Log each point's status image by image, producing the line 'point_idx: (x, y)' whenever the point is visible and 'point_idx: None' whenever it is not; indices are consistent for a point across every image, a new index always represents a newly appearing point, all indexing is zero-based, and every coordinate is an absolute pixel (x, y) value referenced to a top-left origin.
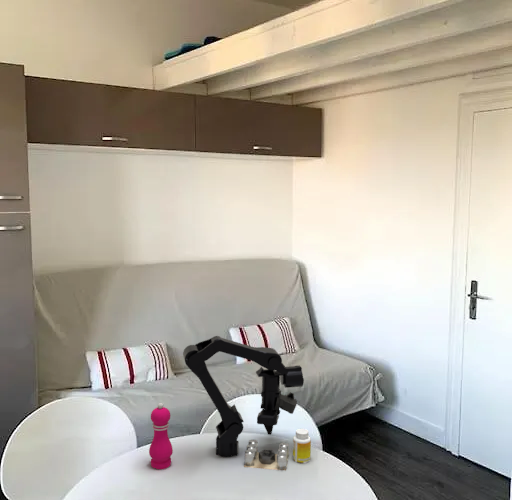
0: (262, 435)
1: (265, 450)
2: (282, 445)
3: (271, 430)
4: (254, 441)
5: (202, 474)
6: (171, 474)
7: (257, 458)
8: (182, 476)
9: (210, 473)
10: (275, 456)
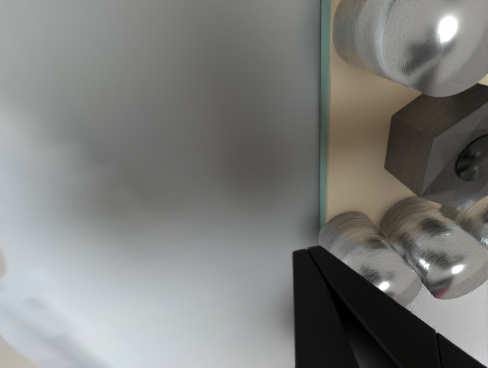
0: (46, 273)
1: (436, 182)
2: (481, 49)
3: (366, 284)
4: (386, 291)
5: (483, 303)
6: (468, 353)
7: (404, 192)
8: (485, 333)
9: (480, 290)
10: (373, 95)
